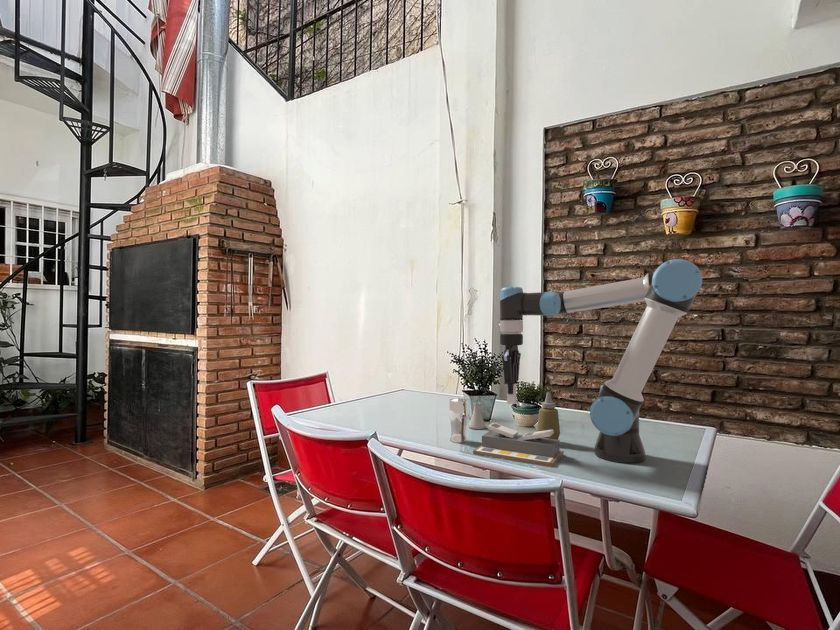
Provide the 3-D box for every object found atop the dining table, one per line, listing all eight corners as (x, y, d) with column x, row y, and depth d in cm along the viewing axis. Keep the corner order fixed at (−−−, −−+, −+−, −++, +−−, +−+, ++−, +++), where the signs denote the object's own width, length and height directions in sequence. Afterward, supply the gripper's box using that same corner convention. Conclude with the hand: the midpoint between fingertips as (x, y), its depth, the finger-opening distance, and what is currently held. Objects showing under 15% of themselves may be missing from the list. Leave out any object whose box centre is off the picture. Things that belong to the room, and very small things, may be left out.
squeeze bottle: (563, 442, 166) (563, 392, 166) (556, 447, 159) (556, 395, 159) (541, 438, 170) (541, 390, 170) (533, 443, 164) (533, 393, 164)
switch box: (563, 454, 150) (563, 437, 150) (552, 467, 138) (552, 448, 138) (488, 443, 163) (489, 427, 163) (473, 453, 151) (473, 436, 151)
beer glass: (452, 444, 163) (452, 401, 163) (446, 439, 170) (446, 398, 170) (471, 442, 165) (471, 401, 165) (464, 437, 172) (464, 397, 172)
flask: (472, 430, 183) (472, 405, 183) (465, 426, 190) (465, 402, 190) (489, 429, 185) (489, 404, 185) (481, 425, 192) (481, 401, 192)
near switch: (553, 433, 149) (552, 429, 150) (549, 436, 145) (548, 432, 145) (527, 436, 154) (526, 432, 154) (523, 440, 150) (522, 436, 150)
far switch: (517, 434, 156) (518, 431, 155) (512, 438, 151) (513, 434, 151) (493, 425, 160) (493, 422, 160) (487, 428, 156) (488, 425, 156)
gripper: (507, 332, 162) (507, 399, 162) (493, 333, 150) (494, 405, 150) (528, 332, 158) (528, 401, 158) (516, 334, 147) (516, 407, 147)
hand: (511, 403), depth 154 cm, fingers closed
